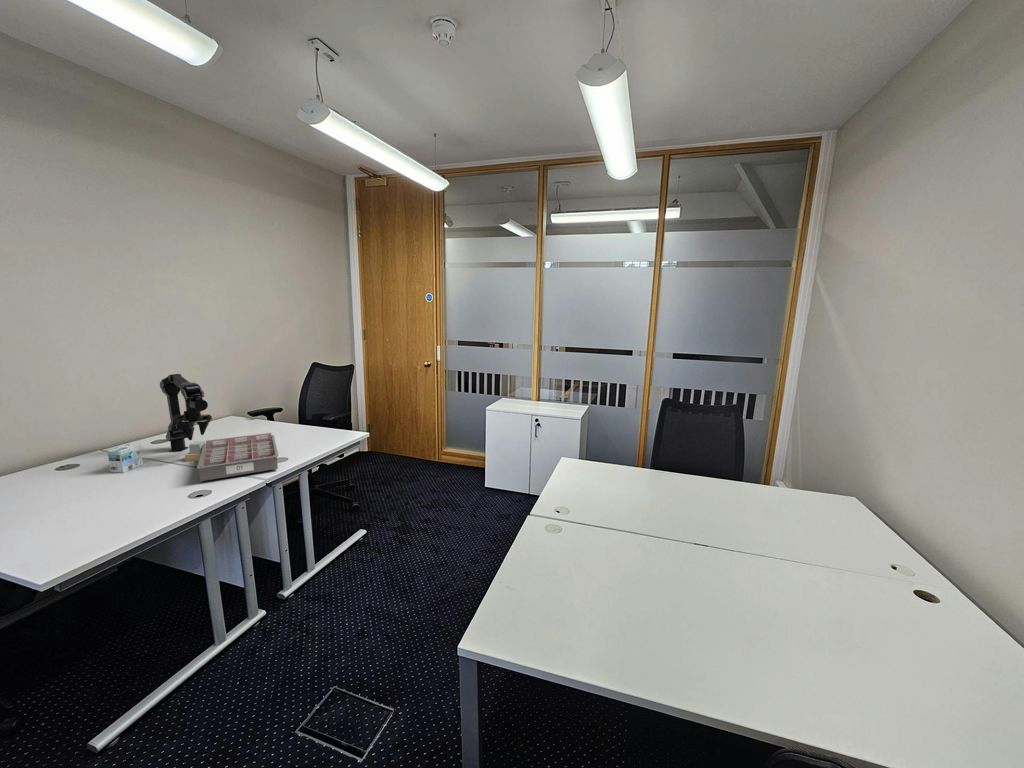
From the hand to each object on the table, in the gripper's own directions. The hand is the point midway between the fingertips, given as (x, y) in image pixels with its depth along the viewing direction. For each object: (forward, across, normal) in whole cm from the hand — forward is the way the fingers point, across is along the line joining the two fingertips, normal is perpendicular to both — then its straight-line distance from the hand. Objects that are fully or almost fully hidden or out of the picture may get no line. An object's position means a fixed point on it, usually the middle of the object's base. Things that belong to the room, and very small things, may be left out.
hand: (196, 437), depth 215 cm
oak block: (+12, 0, 0) cm, 12 cm away
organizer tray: (+12, +9, +26) cm, 30 cm away
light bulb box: (+12, +13, -25) cm, 31 cm away
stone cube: (+8, 0, 0) cm, 8 cm away
